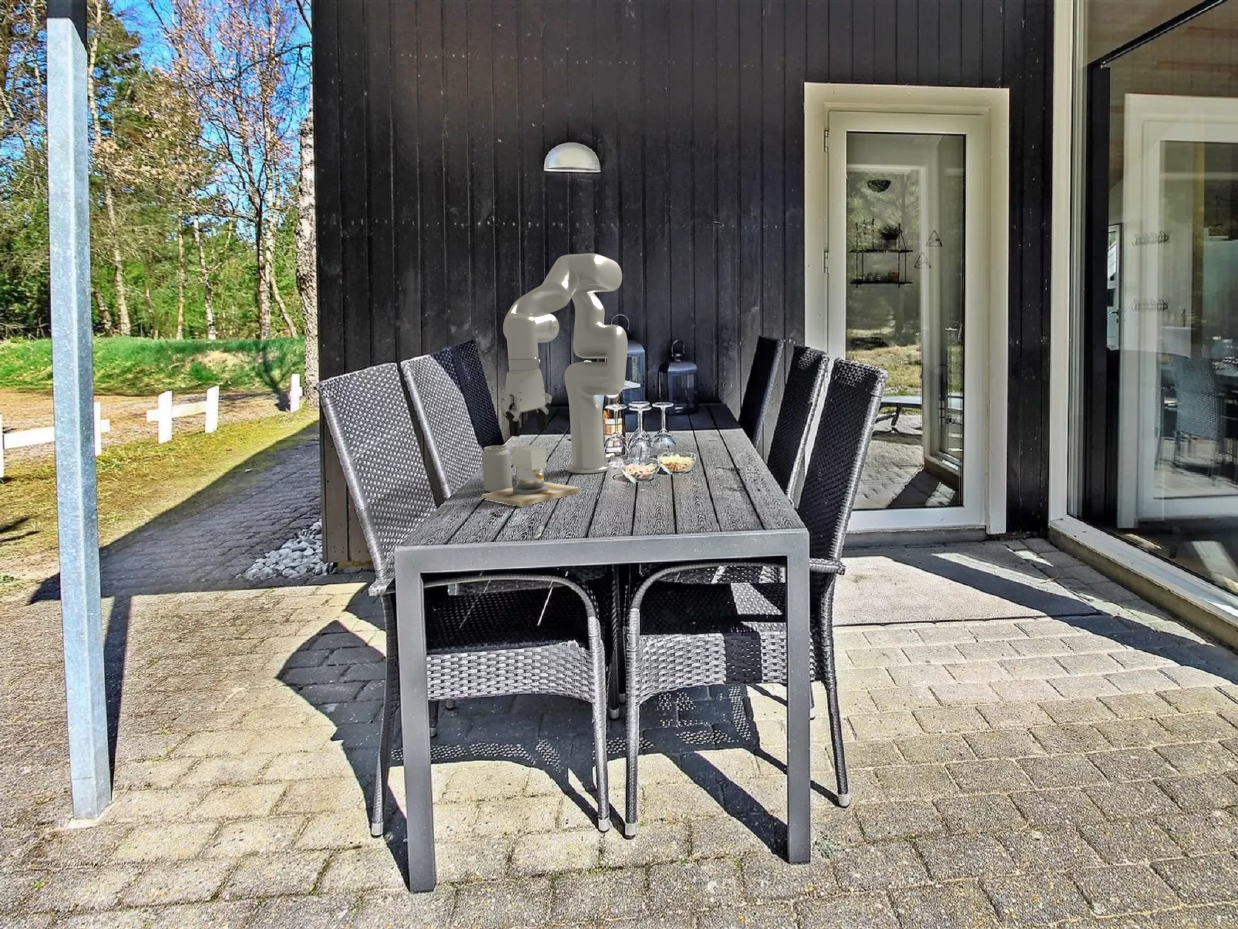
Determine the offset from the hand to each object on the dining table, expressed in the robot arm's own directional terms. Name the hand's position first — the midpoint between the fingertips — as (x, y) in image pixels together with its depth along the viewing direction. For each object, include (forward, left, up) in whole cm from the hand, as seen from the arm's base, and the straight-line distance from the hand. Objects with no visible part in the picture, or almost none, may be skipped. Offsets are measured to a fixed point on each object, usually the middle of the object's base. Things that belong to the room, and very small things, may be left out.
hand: (529, 432), depth 222 cm
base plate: (+1, 0, -16) cm, 16 cm away
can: (+1, -13, -17) cm, 21 cm away
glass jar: (+1, 0, -14) cm, 14 cm away
